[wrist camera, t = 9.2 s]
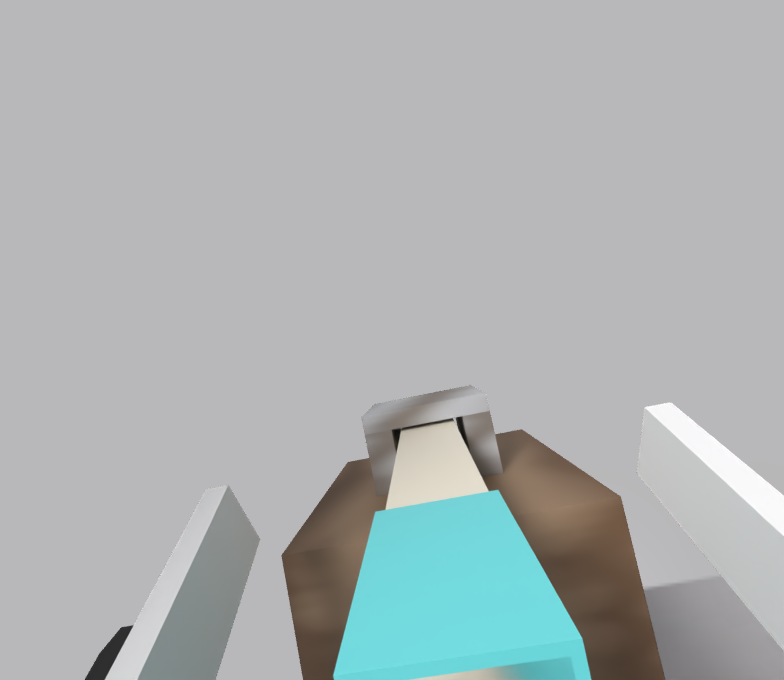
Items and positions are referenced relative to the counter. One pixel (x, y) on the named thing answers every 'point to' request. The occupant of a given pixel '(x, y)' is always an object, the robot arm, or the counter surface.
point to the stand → (531, 512)
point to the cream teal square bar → (452, 580)
